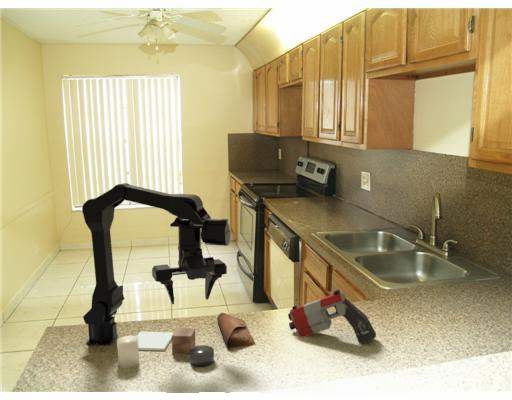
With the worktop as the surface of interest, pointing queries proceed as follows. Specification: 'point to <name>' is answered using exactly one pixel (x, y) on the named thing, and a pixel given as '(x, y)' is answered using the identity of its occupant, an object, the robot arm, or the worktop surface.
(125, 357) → the stoneware jar
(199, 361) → the black tin
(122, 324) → the worktop surface
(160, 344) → the tile
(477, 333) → the worktop surface
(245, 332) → the sunglasses case
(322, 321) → the toy gun
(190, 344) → the walnut cube
